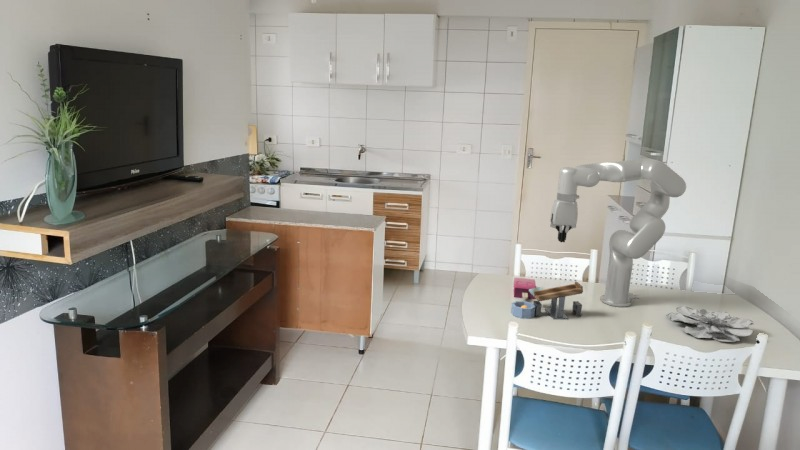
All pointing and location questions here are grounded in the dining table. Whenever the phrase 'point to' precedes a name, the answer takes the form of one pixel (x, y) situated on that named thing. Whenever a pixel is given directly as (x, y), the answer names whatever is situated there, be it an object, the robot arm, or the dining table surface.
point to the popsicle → (523, 288)
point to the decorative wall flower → (712, 324)
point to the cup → (523, 309)
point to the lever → (556, 291)
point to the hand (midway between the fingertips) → (561, 241)
